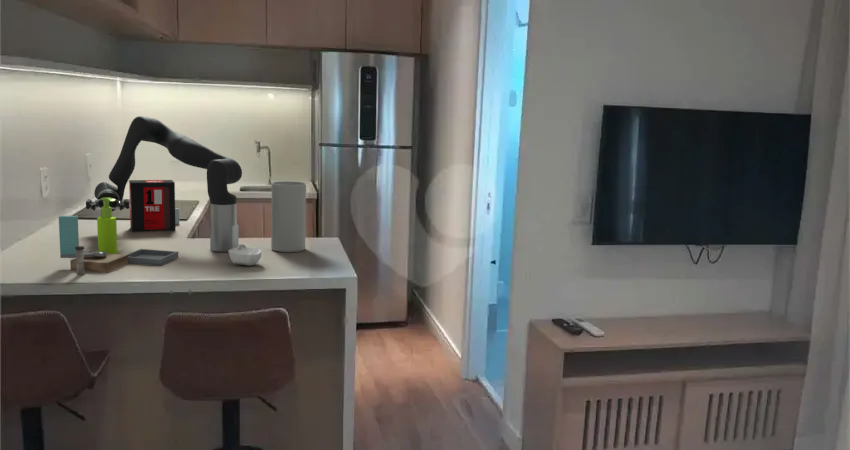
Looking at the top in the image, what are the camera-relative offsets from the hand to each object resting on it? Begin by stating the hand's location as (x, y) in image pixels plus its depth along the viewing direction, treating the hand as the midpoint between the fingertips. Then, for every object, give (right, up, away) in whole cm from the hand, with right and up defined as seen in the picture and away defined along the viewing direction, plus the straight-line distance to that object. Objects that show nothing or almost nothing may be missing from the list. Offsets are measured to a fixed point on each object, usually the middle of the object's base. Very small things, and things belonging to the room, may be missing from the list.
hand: (107, 207), depth 239 cm
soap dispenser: (+4, -17, -8) cm, 19 cm away
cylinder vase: (+61, -16, +16) cm, 65 cm away
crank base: (+8, -20, -26) cm, 34 cm away
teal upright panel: (+4, -16, -25) cm, 30 cm away
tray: (+20, -18, -11) cm, 29 cm away
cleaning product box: (-1, -8, +41) cm, 42 cm away
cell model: (+52, -20, -11) cm, 57 cm away
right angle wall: (-2, -6, +59) cm, 59 cm away
